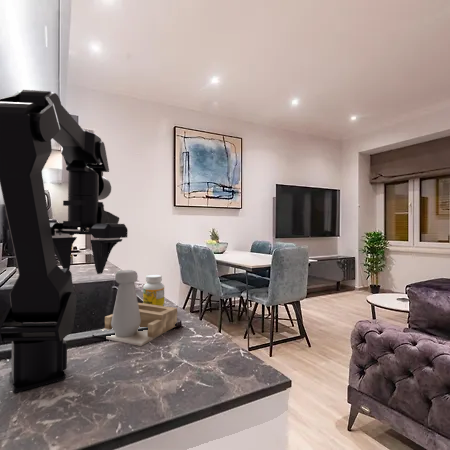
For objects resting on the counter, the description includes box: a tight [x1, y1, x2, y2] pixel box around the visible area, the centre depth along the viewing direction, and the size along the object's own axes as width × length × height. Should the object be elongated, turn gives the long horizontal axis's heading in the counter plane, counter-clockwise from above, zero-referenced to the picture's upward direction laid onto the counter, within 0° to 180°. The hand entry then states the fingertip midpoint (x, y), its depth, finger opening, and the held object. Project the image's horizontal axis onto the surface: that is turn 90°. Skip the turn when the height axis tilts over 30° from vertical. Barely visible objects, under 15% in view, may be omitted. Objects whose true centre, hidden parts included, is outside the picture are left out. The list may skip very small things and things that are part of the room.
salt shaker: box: [111, 269, 141, 338], centre depth 64 cm, size 6×6×13 cm
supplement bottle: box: [142, 274, 165, 306], centre depth 81 cm, size 5×5×10 cm
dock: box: [101, 302, 178, 347], centre depth 67 cm, size 13×12×4 cm
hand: (82, 272), depth 64 cm, fingers open, 9 cm apart
